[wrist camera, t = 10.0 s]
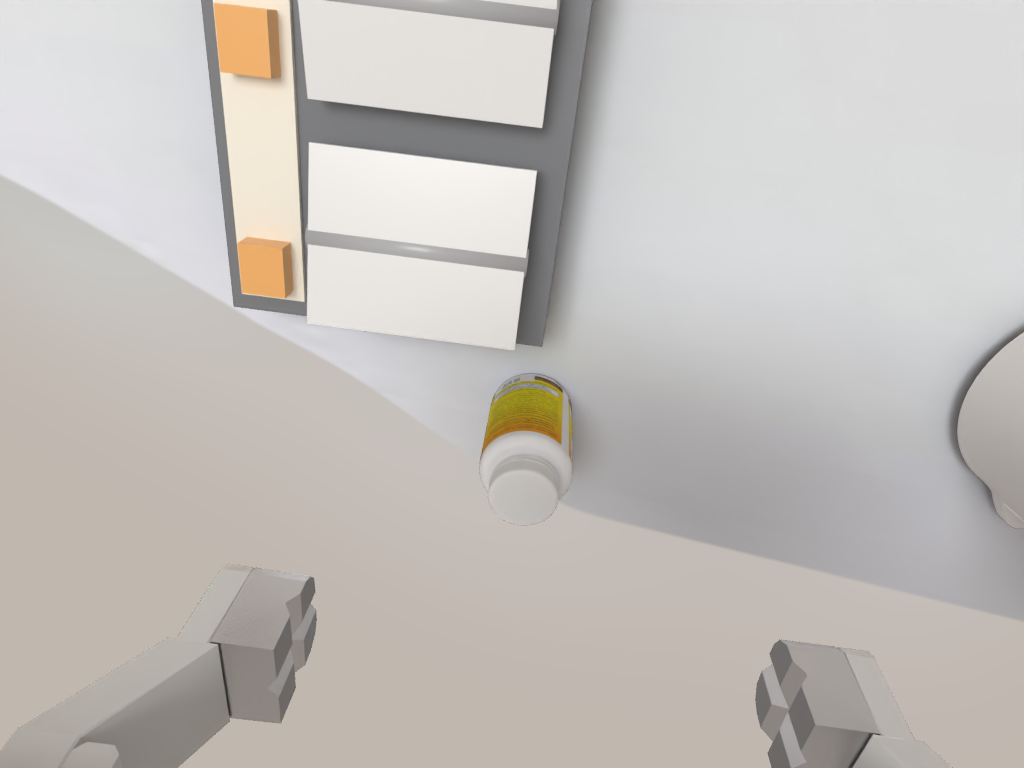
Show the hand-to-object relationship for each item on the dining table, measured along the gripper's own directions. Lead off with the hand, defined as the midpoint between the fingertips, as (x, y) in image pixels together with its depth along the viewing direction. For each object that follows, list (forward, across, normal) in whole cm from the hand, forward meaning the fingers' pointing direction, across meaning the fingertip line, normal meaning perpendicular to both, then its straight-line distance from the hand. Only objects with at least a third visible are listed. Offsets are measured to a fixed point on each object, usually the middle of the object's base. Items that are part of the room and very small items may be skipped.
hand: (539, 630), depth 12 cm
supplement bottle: (+31, 0, +14) cm, 34 cm away
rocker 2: (+24, +7, +2) cm, 25 cm away
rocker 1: (+24, +7, -10) cm, 27 cm away
